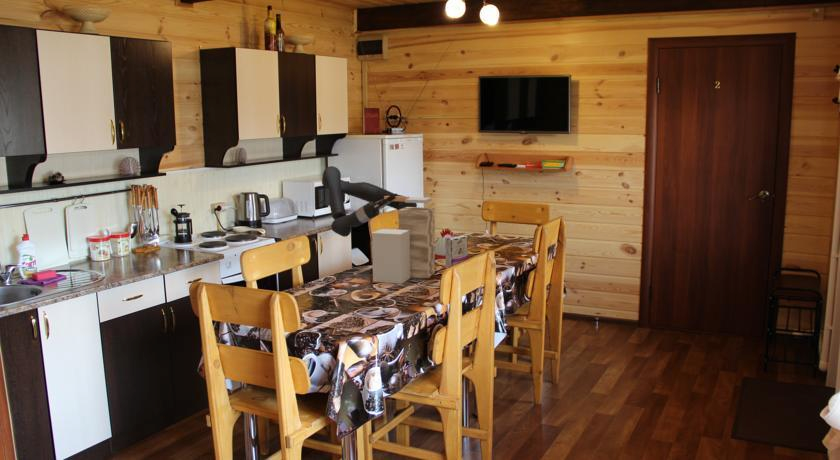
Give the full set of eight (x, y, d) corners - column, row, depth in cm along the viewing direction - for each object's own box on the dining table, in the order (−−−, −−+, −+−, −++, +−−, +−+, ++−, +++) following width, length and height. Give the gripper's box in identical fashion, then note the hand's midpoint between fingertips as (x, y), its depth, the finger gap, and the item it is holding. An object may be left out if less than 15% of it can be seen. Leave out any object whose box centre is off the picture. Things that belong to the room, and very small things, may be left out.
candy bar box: (461, 267, 374) (461, 235, 371) (468, 269, 370) (468, 236, 367) (445, 270, 367) (444, 237, 364) (451, 272, 363) (451, 239, 360)
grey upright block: (382, 276, 357) (381, 228, 353) (410, 277, 352) (409, 230, 348) (373, 281, 346) (371, 232, 342) (401, 283, 341) (400, 234, 337)
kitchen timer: (428, 255, 403) (428, 228, 401) (448, 252, 412) (448, 225, 409) (444, 259, 392) (444, 231, 390) (464, 256, 401) (465, 228, 398)
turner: (388, 199, 362) (388, 195, 361) (431, 200, 354) (431, 196, 354) (381, 201, 353) (381, 197, 353) (425, 203, 346) (425, 198, 346)
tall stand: (407, 271, 366) (406, 206, 360) (434, 273, 361) (434, 207, 356) (399, 276, 356) (398, 210, 350) (427, 278, 351) (426, 211, 345)
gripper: (357, 207, 355) (386, 190, 349) (369, 203, 368) (397, 187, 362) (365, 221, 355) (394, 204, 349) (376, 217, 368) (404, 200, 362)
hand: (395, 195), depth 355 cm, fingers closed on turner, 2 cm apart
